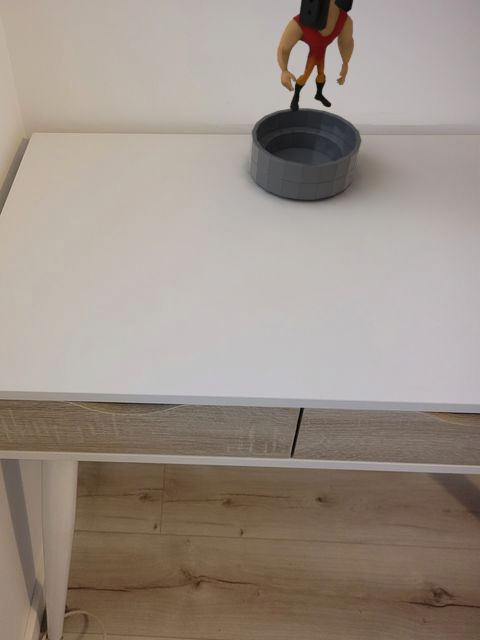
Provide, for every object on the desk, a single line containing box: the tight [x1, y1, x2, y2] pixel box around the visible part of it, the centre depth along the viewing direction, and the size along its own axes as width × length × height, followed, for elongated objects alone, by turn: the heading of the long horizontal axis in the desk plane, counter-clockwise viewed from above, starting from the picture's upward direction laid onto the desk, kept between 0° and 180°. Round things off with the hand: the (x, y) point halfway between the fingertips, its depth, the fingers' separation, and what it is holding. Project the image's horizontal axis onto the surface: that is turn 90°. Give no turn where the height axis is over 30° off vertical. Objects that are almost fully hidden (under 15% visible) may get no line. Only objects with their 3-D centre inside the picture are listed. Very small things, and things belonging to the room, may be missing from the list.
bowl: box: [248, 107, 362, 200], centre depth 83 cm, size 14×14×6 cm
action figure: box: [276, 0, 355, 112], centre depth 71 cm, size 10×4×15 cm, turn 102°
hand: (325, 16), depth 69 cm, fingers closed on action figure, 5 cm apart
